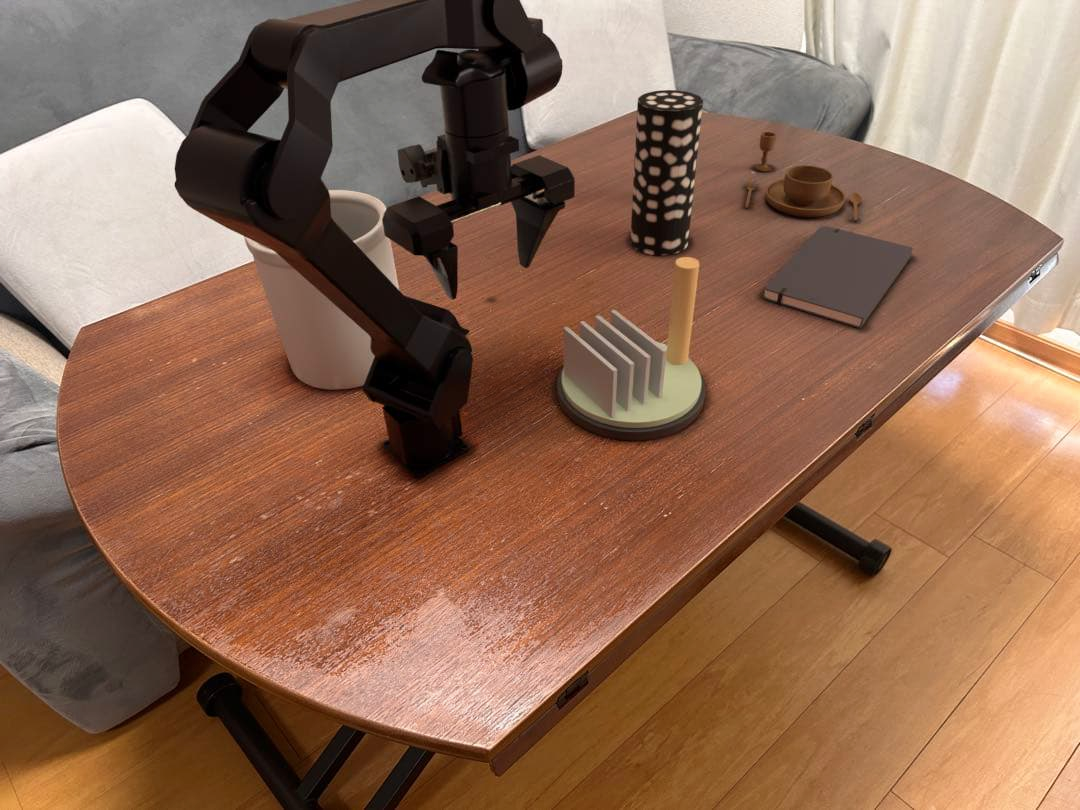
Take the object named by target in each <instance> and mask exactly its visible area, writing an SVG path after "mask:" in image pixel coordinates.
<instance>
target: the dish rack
mask: <svg viewBox="0 0 1080 810" xmlns="http://www.w3.org/2000/svg"><path fill="white" fill-rule="evenodd" d="M699 270H700V261H699V260H698V259H696V258H694V257H691V256H683V257H682V256H681V257H678V258H677V259H676V260H675V262H674V271H673V273H674V274H673V284H672V294H671V303H670V313H669V314H670V315H669V323H668V326H669V327H668V334H667V344H665V343H662V342H659V341H656V340H654V339H653V338H652V337H651V336H649V335H648V334H647V333H646V332H644V331H643V330H641V329H640V328H639V327H638V326H637V325H635V324H634V323H633V322H632V321H630V320H628V318H626V317H625V316H624V315H622V314H621V313H619V312H618V311H617V310H616V309H612V310H610V321H607V320H606V319H605V318H604V317H602V316H601V315H600V314H598V315H595V317H594V318H595V319H594V328H593V327H592V326H591V325H589V324H588V323H587V322H586V321H584V320H581V321H579V335H578V334H577V333H576V332H575V331H574V330H572V329H571V328H570V327H568V326H564V327H563V366H564V368H563V367H562V368H563V372H562V390H563V393H564V395H565V397H566V399H567V400H568V402H569V403H570V404H571V405H572V406H573V407H574V408H575V409H576V410H577V411H579V412H580V413H582V414H583V415H585V416H587V417H589V418H591V419H593V420H595V421H598V422H600V423H604V424H607V425H611V426H617V427H625V428H646V427H653V426H659V425H662V424H666V423H669V422H672V421H674V420H676V419H678V418H680V417H682V416H683V415H685V414H686V413H688V412H689V411H690V410H691V409H692V408H693V406H694V405H695V404H696V403H697V401H698V398H699V396H700V392H701V376H700V374H701V372H700V371H699V369H698V367H697V365H696V364H695V363H694V362H693V361H692V360H691V358H689V353H690V347H691V346H690V344H691V338H692V336H691V335H692V330H693V329H692V328H693V320H694V311H695V305H696V296H697V287H698V281H699V280H698V279H699ZM699 372H700V373H699Z"/></svg>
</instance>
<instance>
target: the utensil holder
mask: <svg viewBox="0 0 1080 810" xmlns="http://www.w3.org/2000/svg"><path fill="white" fill-rule="evenodd" d="M328 191H329V194H330V206H331V217H332V218H333V220H334V221H335V223H336V224H337V225H338V226H339V227H340V228H341V229H342V230H343V231H344V232H345V233H346V234H347V235H348V236H349V237H350V239H351V240H352V241H353V242H354V243H355V244H356V245H357V246H358V247H359V248H360V249H361V250H362V251H363V252H364V253H365V255H366V256H367V257H368V258H369V259H370V260H371V261H372V262H373V263H374V264H375V265H376V266H377V267H378V268H379V269H380V271H381V272H382V273H383V274H384V275H385V276H386V277H387V278H388V279H389V280H390V281H391V282H392V283H393V284H394V285H395V287H396V288H397V289H398V290H399V291H400V287H399V286H400V285H399V281H398V275H397V270H396V264H395V263H396V262H395V258H394V253H393V248H392V240H390V239H389V238H387V237H386V236H385V234H384V228H383V222H382V218H383V215H384V212H385V211H386V209H387V206H386V205H385V204H384V203H383V202H382V201H381V200H380V199H378V197H375V196H373V195H370V194H367V193H364V192H360V191H354V190H346V189H328ZM243 237H244V242H245V245H246V247H247V249H248V252H250V254H251V255H252V257H253V261H254V264H255V267H256V270H257V273H258V275H259V276H258V277H259V279H260V282H261V285H262V288H263V291H264V293H265V296H266V299H267V302H268V305H269V308H270V312H271V315H272V318H273V321H274V324H275V327H276V330H277V333H278V335H279V338H280V340H281V344H282V347H283V349H284V352H285V355H286V358H287V360H288V363H289V365H290V368H291V371H292V373H293V374H294V376H295V377H296V378H297V379H298V380H299V381H301V382H302V383H304V384H306V385H308V386H309V387H312V388H315V389H316V388H318V389H322V390H331V391H332V390H334V391H335V390H347V389H356V388H359V387H363V385H364V383H365V380H366V378H367V375H368V373H369V370H370V367H371V365H372V362H373V360H374V357H375V356H374V355H373V353H372V352H371V349H370V344H371V337H370V336H369V335H368V334H367V333H366V332H365V331H364V330H363V329H362V328H360V327H359V326H358V325H357V324H356V323H355V322H354V321H353V320H351V319H350V318H349V317H348V316H347V315H346V314H345V313H344V312H342V311H341V310H340V309H339V308H338V307H337V306H336V305H335V304H333V303H332V302H331V301H330V300H329V299H328V298H327V297H326V296H324V295H323V294H322V293H321V292H320V291H319V290H318V289H317V288H315V287H314V286H313V285H312V284H311V283H310V282H309V281H307V280H306V279H305V278H304V277H303V276H302V275H301V274H300V273H298V272H297V271H296V270H295V269H294V268H293V267H292V266H291V265H289V264H288V263H287V262H286V261H285V260H284V259H283V258H282V257H280V256H279V255H278V254H277V253H276V252H275V251H273V250H271V249H270V248H268V247H266V246H264V245H261V244H259V243H257V242H255V241H253V240H251V239H249V238H247V237H245V236H243Z"/></svg>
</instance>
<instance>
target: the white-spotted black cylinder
mask: <svg viewBox="0 0 1080 810" xmlns="http://www.w3.org/2000/svg"><path fill="white" fill-rule="evenodd" d="M637 98H638V99H637V105H636V106H637V108H636V127H635V145H634V162H633V163H634V165H633V182H632V199H631V200H632V201H631V202H632V203H631V219H630V239H629V241H630V245H631V247H633V248H634V249H635V250H636V251H638V252H640V253H643V254H647V255H652V256H671V255H675V254H679V253H681V252H683V251H684V250H685V249H687V247H688V246H689V238H690V229H691V221H692V220H691V219H692V211H693V200H694V193H695V182H696V172H697V164H698V154H699V146H700V145H699V144H700V133H701V125H702V116H703V106H704V99H703V98H702V96H700V95H698V94H696V93H693V92H690V91H685V90H677V89H676V90H675V89H663V90H661V89H660V90H654V91H649V92H646V93H642V94H641V95H640V96H639V97H637Z"/></svg>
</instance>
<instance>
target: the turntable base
mask: <svg viewBox="0 0 1080 810" xmlns="http://www.w3.org/2000/svg"><path fill="white" fill-rule="evenodd" d="M563 368H564V365H563V366H562V368H561V369H560V371H559V373H558V376H557V381H556V395H557V396H556V397H557V400H558V401H557V402H558V403H559V406H560V408H561V409H562V411H563V412H564V414H565V415H566V416H567V418H569V419H570V420H571V421H572V422H574V423H575V424H576V425H578V426H579V427H581V428H582V429H585V430H587V431H588V432H590V433H593V434H595V435H599V436H601V437H604V438H605V437H606V438H609V439H614V440H621V441H648V440H649V441H650V440H656V439H660V438H665V437H667V436H671V435H673V434H676V433H678V432H680V431H681V430H684V429H685V428H687V427H688V426H690V425H691V424H692V423H693V422H694V421H695V420H696V419H697V418H698V417H699V415H700V413H701V412H702V410H703V407H704V404H705V403H704V402H705V398H706V384H705V380H704V378H703V376H702V374H701V372H700V371H699V373H700V376H701V392H700V396H699V398H698V401H697V403H696V404H695V405H694V406H693V408H692V409H691V410H690V411H689V412H688V413H686V414H685V415H683V416H682V417H680V418H678V419H676V420H674V421H672V422H669V423H666V424H662V425H659V426H653V427H646V428H625V427H617V426H611V425H607V424H604V423H600V422H598V421H595V420H593V419H591V418H589V417H587V416H585V415H583V414H582V413H580V412H579V411H577V410H576V409H575V408H574V407H573V406H572V405H571V404H570V403H569V402H568V400H567V399H566V397H565V395H564V393H563V390H562V372H563Z"/></svg>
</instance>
